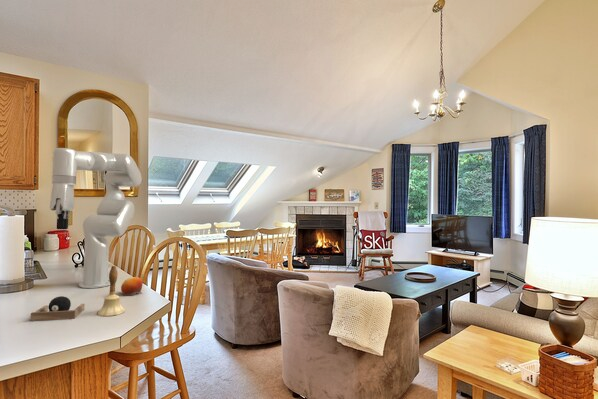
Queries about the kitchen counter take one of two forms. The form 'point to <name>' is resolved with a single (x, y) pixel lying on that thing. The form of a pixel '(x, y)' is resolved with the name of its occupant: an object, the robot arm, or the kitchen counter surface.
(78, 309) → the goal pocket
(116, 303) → the hand bell
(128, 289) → the fruit
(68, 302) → the billiard ball
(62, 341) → the kitchen counter surface
